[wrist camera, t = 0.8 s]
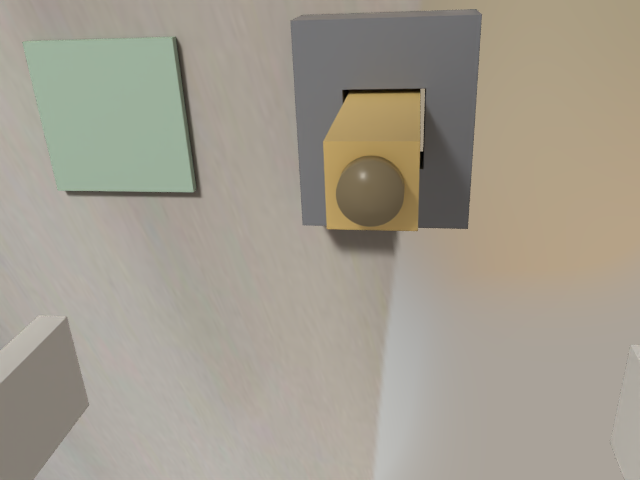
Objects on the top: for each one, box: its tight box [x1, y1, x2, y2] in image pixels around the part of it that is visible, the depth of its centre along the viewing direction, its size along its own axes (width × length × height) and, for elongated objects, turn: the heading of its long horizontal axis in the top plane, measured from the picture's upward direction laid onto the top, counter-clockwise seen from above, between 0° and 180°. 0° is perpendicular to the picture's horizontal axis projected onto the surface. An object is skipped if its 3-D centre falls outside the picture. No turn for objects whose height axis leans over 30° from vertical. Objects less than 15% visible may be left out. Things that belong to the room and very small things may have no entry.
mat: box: [22, 37, 196, 192], centre depth 40 cm, size 10×10×1 cm
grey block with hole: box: [291, 9, 482, 229], centre depth 36 cm, size 12×10×4 cm
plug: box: [323, 88, 420, 231], centre depth 31 cm, size 4×4×14 cm
